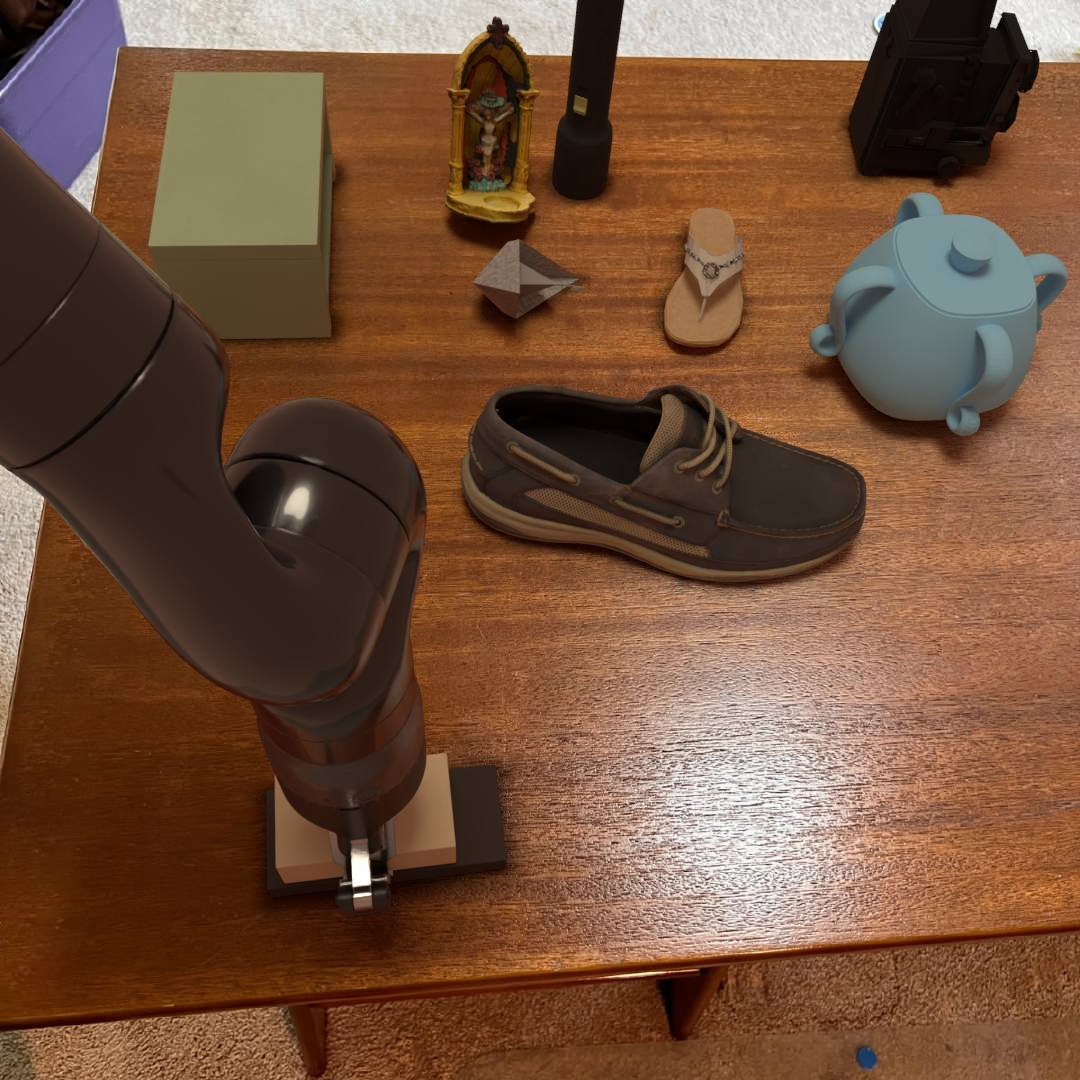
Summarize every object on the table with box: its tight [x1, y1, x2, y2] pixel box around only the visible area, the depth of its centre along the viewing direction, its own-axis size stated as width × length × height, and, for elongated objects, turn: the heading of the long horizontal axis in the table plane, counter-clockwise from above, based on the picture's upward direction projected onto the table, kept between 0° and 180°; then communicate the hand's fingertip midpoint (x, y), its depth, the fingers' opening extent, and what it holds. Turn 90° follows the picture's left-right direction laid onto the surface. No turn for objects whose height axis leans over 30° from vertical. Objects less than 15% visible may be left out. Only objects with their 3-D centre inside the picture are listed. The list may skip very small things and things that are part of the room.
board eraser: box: [265, 752, 508, 898], centre depth 64 cm, size 14×6×6 cm, turn 98°
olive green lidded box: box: [147, 71, 336, 340], centre depth 87 cm, size 20×12×10 cm, turn 5°
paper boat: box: [472, 238, 587, 320], centre depth 88 cm, size 12×6×9 cm
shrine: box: [444, 15, 541, 224], centre depth 90 cm, size 12×8×15 cm
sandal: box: [663, 207, 746, 349], centre depth 90 cm, size 7×16×5 cm, turn 175°
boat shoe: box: [460, 384, 868, 583], centre depth 75 cm, size 11×29×11 cm, turn 86°
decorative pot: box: [808, 192, 1069, 437], centre depth 84 cm, size 16×16×14 cm
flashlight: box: [551, 0, 625, 201], centre depth 89 cm, size 5×24×5 cm
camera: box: [848, 0, 1041, 179], centre depth 95 cm, size 10×14×20 cm
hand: (369, 830), depth 65 cm, fingers closed on board eraser, 6 cm apart
